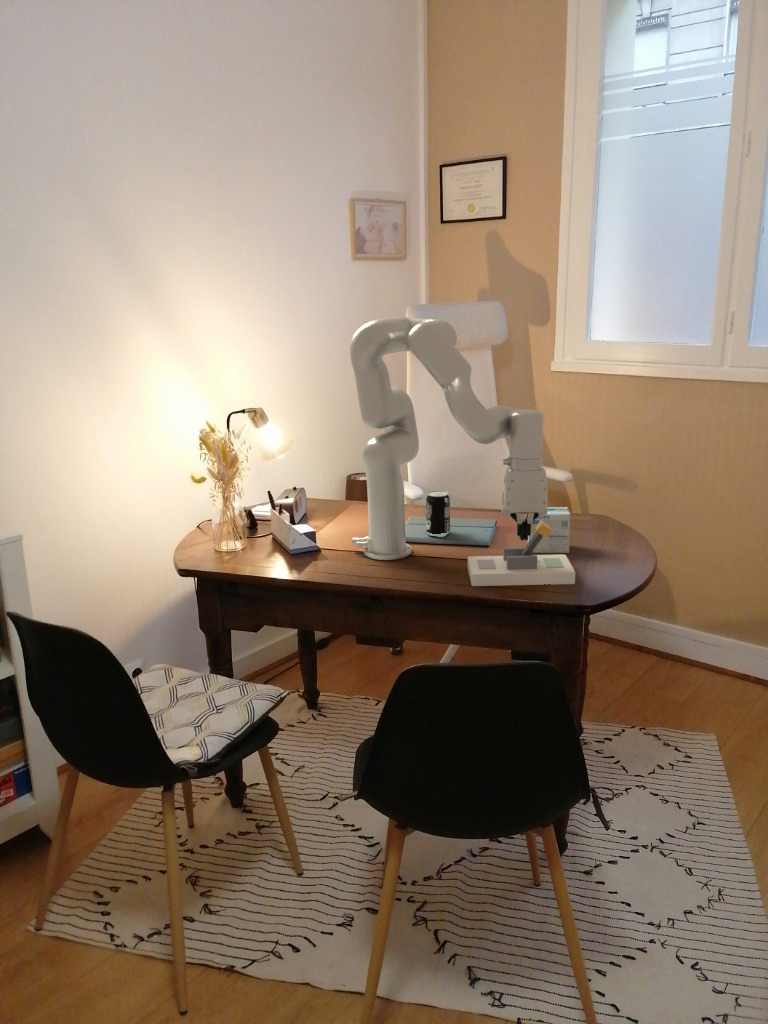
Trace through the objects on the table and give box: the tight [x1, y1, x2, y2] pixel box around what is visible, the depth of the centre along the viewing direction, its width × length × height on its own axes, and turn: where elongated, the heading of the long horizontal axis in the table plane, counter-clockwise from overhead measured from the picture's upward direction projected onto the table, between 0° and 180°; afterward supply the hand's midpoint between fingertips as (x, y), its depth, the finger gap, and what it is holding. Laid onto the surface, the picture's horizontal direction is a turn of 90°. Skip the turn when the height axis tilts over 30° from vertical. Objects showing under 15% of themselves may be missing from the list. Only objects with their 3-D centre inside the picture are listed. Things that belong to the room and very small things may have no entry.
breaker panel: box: [467, 546, 576, 587], centre depth 196 cm, size 24×12×6 cm, turn 89°
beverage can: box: [425, 490, 451, 534], centre depth 227 cm, size 7×7×12 cm
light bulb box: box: [527, 506, 571, 554], centre depth 213 cm, size 11×7×11 cm, turn 84°
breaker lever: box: [519, 521, 552, 556], centre depth 194 cm, size 2×4×11 cm
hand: (523, 538), depth 194 cm, fingers closed
